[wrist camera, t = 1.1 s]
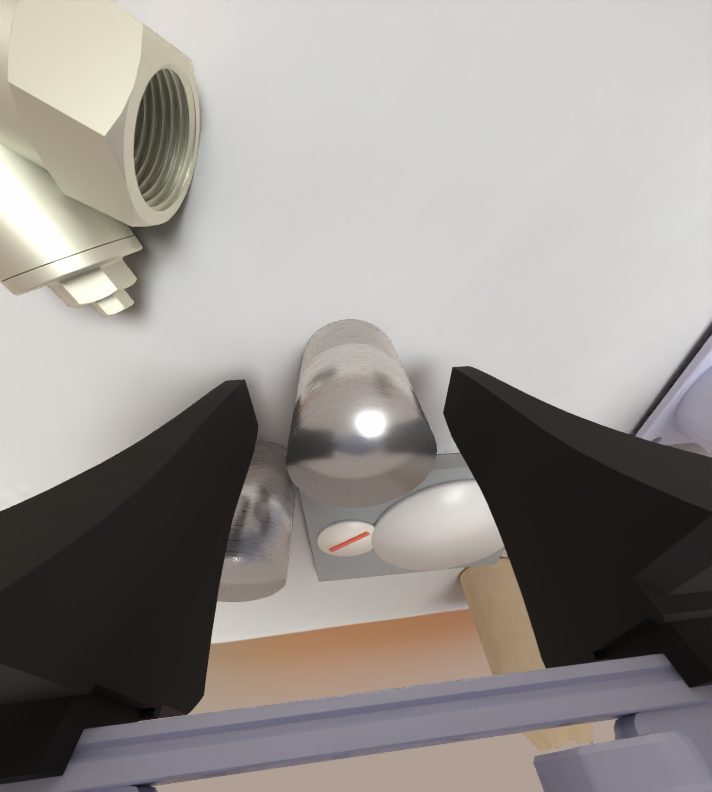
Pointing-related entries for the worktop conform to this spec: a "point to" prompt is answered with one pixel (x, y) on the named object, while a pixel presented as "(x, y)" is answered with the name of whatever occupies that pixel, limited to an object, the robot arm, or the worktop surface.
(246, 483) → the cylinder
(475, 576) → the candle
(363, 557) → the scale
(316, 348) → the cylinder
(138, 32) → the pipe fitting
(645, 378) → the worktop surface
